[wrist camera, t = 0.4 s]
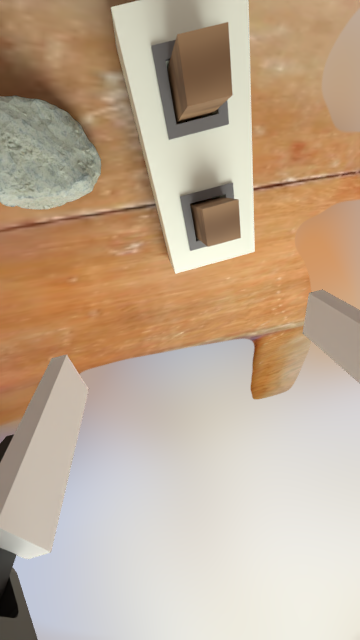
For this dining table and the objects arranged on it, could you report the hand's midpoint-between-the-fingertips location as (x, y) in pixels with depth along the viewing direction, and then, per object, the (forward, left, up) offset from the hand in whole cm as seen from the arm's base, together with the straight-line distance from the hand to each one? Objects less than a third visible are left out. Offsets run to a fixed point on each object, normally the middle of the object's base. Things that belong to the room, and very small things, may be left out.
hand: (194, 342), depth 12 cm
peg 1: (-14, +7, -22) cm, 27 cm away
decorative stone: (-12, -11, -27) cm, 31 cm away
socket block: (-8, +7, -27) cm, 29 cm away
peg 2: (-2, +7, -22) cm, 23 cm away
